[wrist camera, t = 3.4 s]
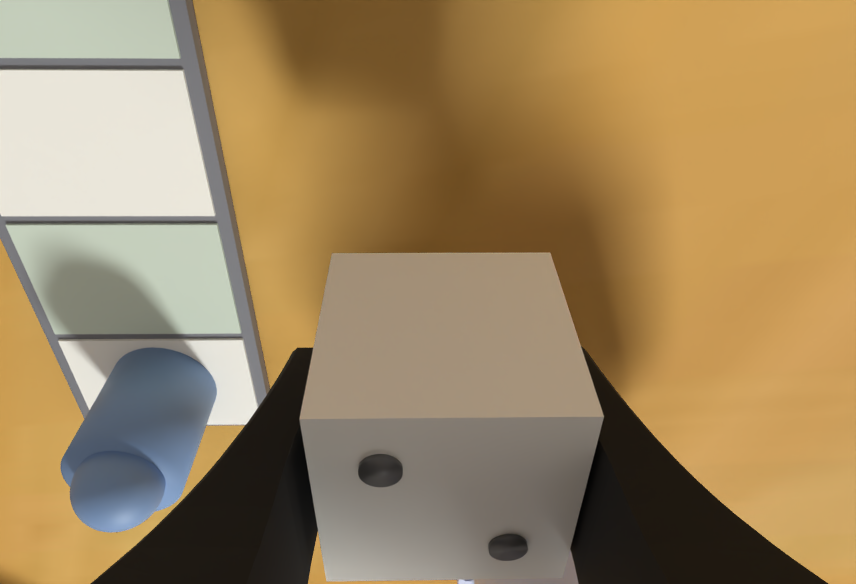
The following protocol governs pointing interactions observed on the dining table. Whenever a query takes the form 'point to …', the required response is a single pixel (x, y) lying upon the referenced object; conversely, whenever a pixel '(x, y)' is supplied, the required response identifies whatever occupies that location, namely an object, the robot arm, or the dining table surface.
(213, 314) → the board
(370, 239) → the dining table surface
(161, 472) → the pawn
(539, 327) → the die
